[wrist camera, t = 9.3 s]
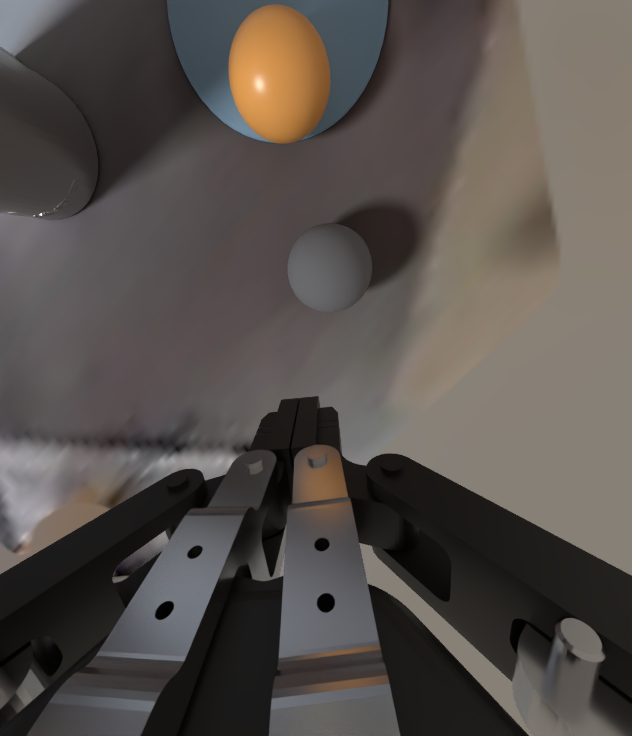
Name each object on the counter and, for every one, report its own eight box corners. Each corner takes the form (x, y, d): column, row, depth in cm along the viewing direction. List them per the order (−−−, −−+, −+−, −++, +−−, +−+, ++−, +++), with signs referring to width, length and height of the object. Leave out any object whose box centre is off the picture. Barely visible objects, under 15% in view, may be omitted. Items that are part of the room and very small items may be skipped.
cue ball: (278, 313, 20) (265, 254, 23) (340, 337, 24) (323, 284, 27) (340, 245, 17) (316, 187, 20) (401, 286, 21) (373, 232, 24)
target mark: (121, -32, 19) (119, -35, 19) (311, -230, 16) (311, -236, 16) (252, 185, 23) (252, 185, 23) (425, 55, 20) (426, 53, 20)
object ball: (231, 158, 21) (216, 54, 20) (314, 163, 23) (304, 69, 22) (246, 98, 15) (225, -51, 14) (353, 112, 17) (342, -17, 16)
